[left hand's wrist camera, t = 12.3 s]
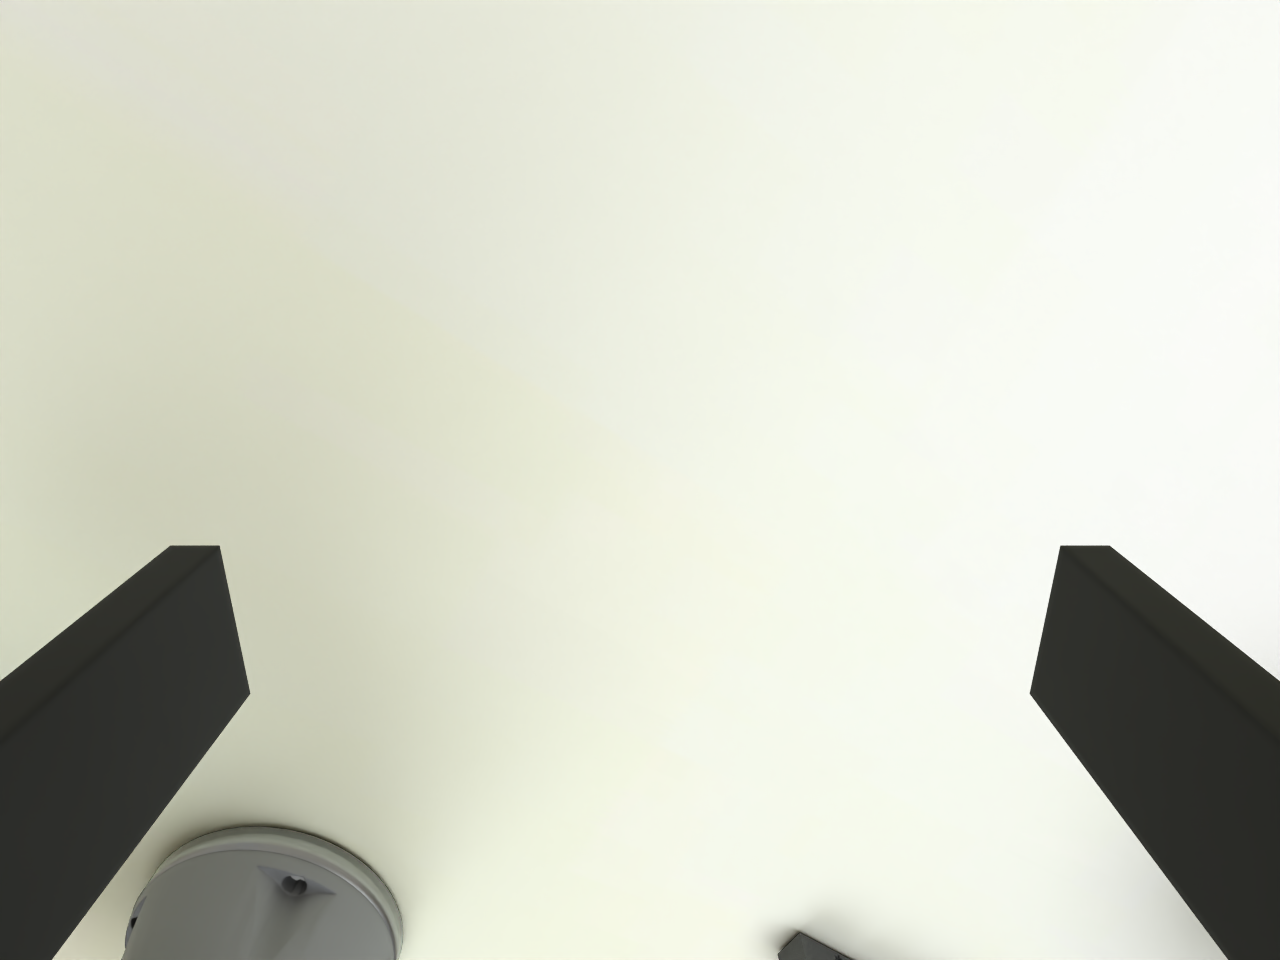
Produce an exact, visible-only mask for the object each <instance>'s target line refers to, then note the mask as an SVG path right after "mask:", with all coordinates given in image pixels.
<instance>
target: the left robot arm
mask: <svg viewBox="0 0 1280 960" xmlns="http://www.w3.org/2000/svg"><path fill="white" fill-rule="evenodd" d="M249 695H250V690H249V685H248V680H247V676H246V671H245V666H244V661H243V656H242V652H241V647H240V642H239V637H238V632H237V627H236V623H235V618H234V613H233V608H232V603H231V599H230V594H229V589H228V584H227V579H226V574H225V570H224V565H223V560H222V555H221V550H220V546H169V547H168V548H167V549H166V550H164V551H163V552H162V553H161V554H159V555H158V556H157V557H156V558H154V559H153V560H152V561H151V562H149V563H148V564H147V565H146V566H144V567H143V568H142V569H141V570H139V571H138V572H137V573H136V574H134V575H133V576H132V577H130V578H129V579H128V580H127V581H125V582H124V583H123V584H122V585H120V586H119V587H118V588H117V589H115V590H114V591H113V592H112V593H110V594H109V595H108V596H107V597H105V598H104V599H103V600H102V601H100V602H99V603H98V604H97V605H95V606H94V607H93V608H92V609H90V610H89V611H88V612H87V613H85V614H84V615H83V616H82V617H80V618H79V619H78V620H77V621H75V622H74V623H73V624H72V625H70V626H69V627H68V628H67V629H65V630H64V631H63V632H61V633H60V634H59V635H58V636H56V637H55V638H54V639H53V640H51V641H50V642H49V643H48V644H46V645H45V646H44V647H43V648H41V649H40V650H39V651H38V652H36V653H35V654H34V655H33V656H31V657H30V658H29V659H28V660H26V661H25V662H24V663H23V664H21V665H20V666H19V667H18V668H16V669H15V670H14V671H13V672H11V673H10V674H9V675H8V676H6V677H5V678H4V679H3V680H1V681H0V960H52V959H53V957H54V956H55V955H56V953H57V952H58V951H59V949H60V948H61V947H62V945H63V944H64V943H65V941H66V940H67V939H68V937H69V936H70V935H71V933H72V932H73V931H74V929H75V928H76V927H77V925H78V924H79V923H80V921H81V920H82V919H83V917H84V916H85V914H86V913H87V912H88V910H89V909H90V908H91V906H92V905H93V904H94V902H95V901H96V900H97V898H98V897H99V896H100V894H101V893H102V892H103V890H104V889H105V888H106V886H107V885H108V884H109V882H110V881H111V880H112V878H113V877H114V876H115V874H116V873H117V872H118V870H119V869H120V868H121V866H122V865H123V864H124V862H125V861H126V860H127V858H128V857H129V856H130V854H131V853H132V851H133V850H134V849H135V847H136V846H137V845H138V843H139V842H140V841H141V839H142V838H143V837H144V835H145V834H146V833H147V831H148V830H149V829H150V827H151V826H152V825H153V823H154V822H155V821H156V819H157V818H158V817H159V815H160V814H161V813H162V811H163V810H164V809H165V807H166V806H167V805H168V803H169V802H170V801H171V799H172V798H173V797H174V795H175V794H176V793H177V791H178V790H179V789H180V787H181V786H182V784H183V783H184V782H185V780H186V779H187V778H188V776H189V775H190V774H191V772H192V771H193V770H194V768H195V767H196V766H197V764H198V763H199V762H200V760H201V759H202V758H203V756H204V755H205V754H206V752H207V751H208V750H209V748H210V747H211V746H212V744H213V743H214V742H215V740H216V739H217V738H218V736H219V735H220V734H221V732H222V731H223V730H224V728H225V727H226V726H227V724H228V723H229V722H230V720H231V719H232V717H233V716H234V715H235V713H236V712H237V711H238V709H239V708H240V707H241V705H242V704H243V703H244V701H245V700H246V699H247V697H248V696H249ZM1030 695H1031V696H1032V697H1033V699H1034V700H1035V701H1036V703H1037V704H1038V705H1039V707H1040V708H1041V709H1042V711H1043V712H1044V713H1045V715H1046V716H1047V717H1048V719H1049V720H1050V722H1051V723H1052V724H1053V726H1054V727H1055V728H1056V730H1057V731H1058V732H1059V734H1060V735H1061V736H1062V738H1063V739H1064V740H1065V742H1066V743H1067V744H1068V746H1069V747H1070V748H1071V750H1072V751H1073V752H1074V754H1075V755H1076V756H1077V758H1078V759H1079V760H1080V762H1081V763H1082V764H1083V766H1084V767H1085V768H1086V770H1087V771H1088V772H1089V774H1090V775H1091V776H1092V778H1093V779H1094V780H1095V782H1096V783H1097V784H1098V786H1099V787H1100V789H1101V790H1102V791H1103V793H1104V794H1105V795H1106V797H1107V798H1108V799H1109V801H1110V802H1111V803H1112V805H1113V806H1114V807H1115V809H1116V810H1117V811H1118V813H1119V814H1120V815H1121V817H1122V818H1123V819H1124V821H1125V822H1126V823H1127V825H1128V826H1129V827H1130V829H1131V830H1132V831H1133V833H1134V834H1135V835H1136V837H1137V838H1138V839H1139V841H1140V842H1141V843H1142V845H1143V846H1144V847H1145V849H1146V850H1147V851H1148V853H1149V854H1150V856H1151V857H1152V858H1153V860H1154V861H1155V862H1156V864H1157V865H1158V866H1159V868H1160V869H1161V870H1162V872H1163V873H1164V874H1165V876H1166V877H1167V878H1168V880H1169V881H1170V882H1171V884H1172V885H1173V886H1174V888H1175V889H1176V890H1177V892H1178V893H1179V894H1180V896H1181V897H1182V898H1183V900H1184V901H1185V902H1186V904H1187V905H1188V906H1189V908H1190V909H1191V910H1192V912H1193V913H1194V914H1195V916H1196V917H1197V919H1198V920H1199V921H1200V923H1201V924H1202V925H1203V927H1204V928H1205V929H1206V931H1207V932H1208V933H1209V935H1210V936H1211V937H1212V939H1213V940H1214V941H1215V943H1216V944H1217V945H1218V947H1219V948H1220V949H1221V951H1222V952H1223V953H1224V955H1225V956H1226V957H1227V959H1228V960H1280V681H1279V680H1277V679H1276V678H1275V677H1274V676H1272V675H1271V674H1270V673H1269V672H1267V671H1266V670H1265V669H1264V668H1262V667H1261V666H1260V665H1259V664H1257V663H1256V662H1255V661H1254V660H1252V659H1251V658H1250V657H1249V656H1247V655H1246V654H1245V653H1244V652H1242V651H1241V650H1240V649H1239V648H1237V647H1236V646H1235V645H1234V644H1232V643H1231V642H1230V641H1229V640H1227V639H1226V638H1225V637H1224V636H1222V635H1221V634H1220V633H1219V632H1217V631H1216V630H1215V629H1213V628H1212V627H1211V626H1210V625H1208V624H1207V623H1206V622H1205V621H1203V620H1202V619H1201V618H1200V617H1198V616H1197V615H1196V614H1195V613H1193V612H1192V611H1191V610H1190V609H1188V608H1187V607H1186V606H1185V605H1183V604H1182V603H1181V602H1180V601H1178V600H1177V599H1176V598H1175V597H1173V596H1172V595H1171V594H1170V593H1168V592H1167V591H1166V590H1165V589H1163V588H1162V587H1161V586H1160V585H1158V584H1157V583H1156V582H1155V581H1153V580H1152V579H1151V578H1150V577H1148V576H1147V575H1146V574H1144V573H1143V572H1142V571H1141V570H1139V569H1138V568H1137V567H1136V566H1134V565H1133V564H1132V563H1131V562H1129V561H1128V560H1127V559H1126V558H1124V557H1123V556H1122V555H1121V554H1119V553H1118V552H1117V551H1116V550H1114V549H1113V548H1112V547H1111V546H1060V550H1059V555H1058V560H1057V565H1056V570H1055V574H1054V579H1053V584H1052V589H1051V594H1050V599H1049V603H1048V608H1047V613H1046V618H1045V623H1044V627H1043V632H1042V637H1041V642H1040V647H1039V652H1038V656H1037V661H1036V666H1035V671H1034V676H1033V680H1032V685H1031V690H1030ZM402 942H403V927H402V920H401V916H400V913H399V910H398V907H397V904H396V902H395V900H394V898H393V896H392V895H391V893H390V892H389V890H388V889H387V887H386V886H385V884H384V883H383V882H382V881H381V879H380V878H379V877H378V876H377V875H376V874H375V873H374V872H373V871H372V870H371V869H370V868H369V867H367V866H366V865H365V864H364V863H363V862H362V861H360V860H359V859H357V858H356V857H354V856H353V855H352V854H350V853H348V852H347V851H345V850H343V849H342V848H340V847H338V846H336V845H334V844H332V843H330V842H327V841H325V840H322V839H320V838H317V837H314V836H311V835H308V834H305V833H301V832H297V831H292V830H287V829H281V828H272V827H239V828H232V829H225V830H221V831H217V832H213V833H210V834H207V835H204V836H201V837H199V838H196V839H194V840H192V841H190V842H188V843H187V844H185V845H183V846H181V847H180V848H179V849H177V850H176V851H174V852H173V853H172V854H171V855H170V856H169V857H168V858H166V859H165V861H164V862H163V863H162V864H161V865H160V866H159V868H158V869H157V871H156V872H155V874H154V875H153V876H152V878H151V879H150V881H149V882H148V884H147V885H146V887H145V888H144V890H143V891H142V893H141V894H140V896H139V897H138V899H137V901H136V903H135V905H134V908H133V911H132V914H131V917H130V920H129V924H128V928H127V931H126V938H125V952H124V955H123V957H122V959H121V960H398V959H399V956H400V952H401V948H402Z"/></svg>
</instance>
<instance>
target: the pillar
mask: <svg viewBox="0 0 1280 960" xmlns="http://www.w3.org/2000/svg"><path fill="white" fill-rule="evenodd" d="M778 958H779V960H851V959H849V958H847V957H845V956H843V955H841V954H839V953H837V952H836V951H834V950H832V949H830V948H828V947H826V946H824V945H822V944H820V943H819V942H817V941H815V940H813V939H811V938H809V937H807V936H805V935H803V934H802V933H799V934H798V935H797V936H796V937H795V938H794V939H793V940H792V941H791V942H790V943H789V944H788V945H787V946H786V947H785V948H784V949H783V950H782V951H780V952H779V953H778Z"/></svg>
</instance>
